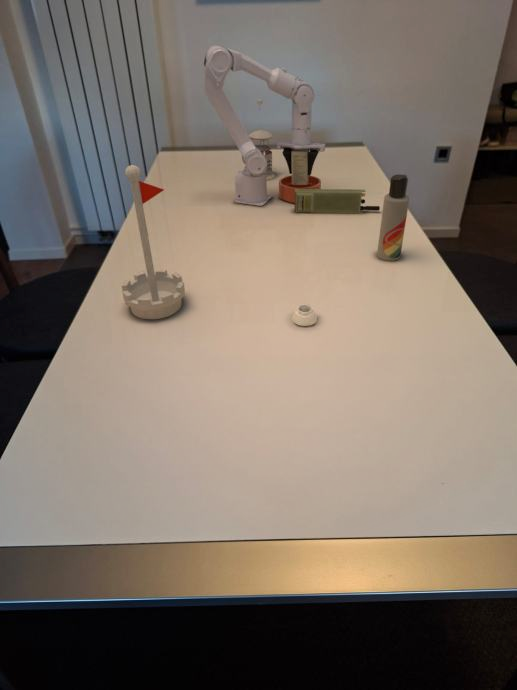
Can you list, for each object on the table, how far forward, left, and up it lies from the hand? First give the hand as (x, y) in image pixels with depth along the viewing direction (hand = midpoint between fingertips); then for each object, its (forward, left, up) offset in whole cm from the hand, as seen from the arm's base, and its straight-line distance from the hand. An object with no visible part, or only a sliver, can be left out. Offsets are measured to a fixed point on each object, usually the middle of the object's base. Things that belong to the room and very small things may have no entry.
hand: (300, 173), depth 155 cm
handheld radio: (+15, -8, -8) cm, 18 cm away
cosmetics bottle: (0, 0, -3) cm, 3 cm away
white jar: (+25, -67, -8) cm, 72 cm away
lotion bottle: (+35, -32, -8) cm, 48 cm away
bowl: (0, 0, -7) cm, 7 cm away
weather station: (-20, +16, -8) cm, 27 cm away
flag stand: (-7, -73, -8) cm, 74 cm away
